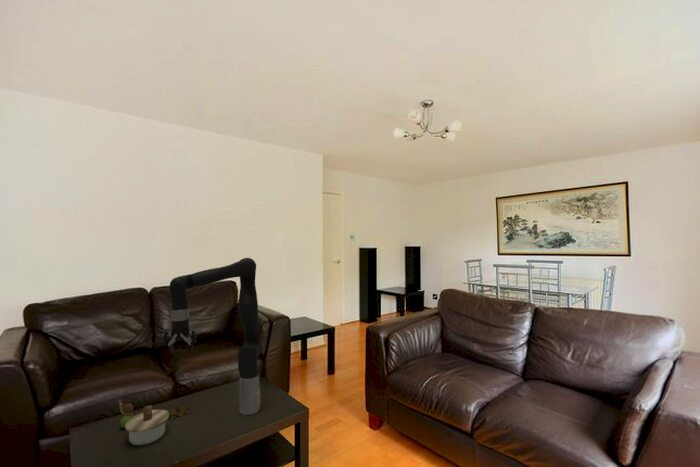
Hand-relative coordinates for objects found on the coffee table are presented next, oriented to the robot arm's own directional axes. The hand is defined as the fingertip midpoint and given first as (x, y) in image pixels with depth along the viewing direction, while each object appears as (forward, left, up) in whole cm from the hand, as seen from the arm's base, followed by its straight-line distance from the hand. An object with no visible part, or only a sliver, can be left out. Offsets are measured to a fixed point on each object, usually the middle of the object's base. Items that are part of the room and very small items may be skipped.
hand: (180, 352), depth 155 cm
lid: (+7, +14, -24) cm, 29 cm away
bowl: (+7, +14, -31) cm, 35 cm away
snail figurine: (+21, +6, -31) cm, 38 cm away
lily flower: (+4, -6, -32) cm, 32 cm away
